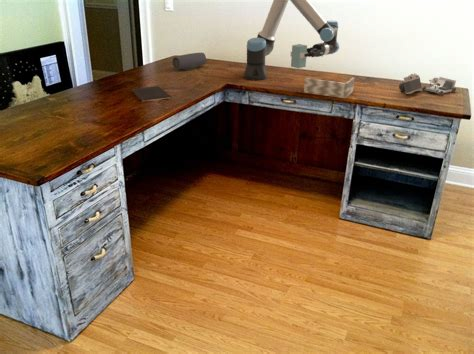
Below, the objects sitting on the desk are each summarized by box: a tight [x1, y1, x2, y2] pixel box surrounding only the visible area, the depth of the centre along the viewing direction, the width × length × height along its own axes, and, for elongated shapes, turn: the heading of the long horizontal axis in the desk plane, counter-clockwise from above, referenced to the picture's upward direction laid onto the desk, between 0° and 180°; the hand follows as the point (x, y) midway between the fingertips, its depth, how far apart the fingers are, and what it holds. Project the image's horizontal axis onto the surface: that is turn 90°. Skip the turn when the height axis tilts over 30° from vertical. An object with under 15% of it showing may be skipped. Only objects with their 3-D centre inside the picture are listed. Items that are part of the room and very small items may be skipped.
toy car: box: [421, 76, 457, 97], centre depth 250 cm, size 18×10×12 cm
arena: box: [303, 76, 356, 99], centre depth 248 cm, size 24×16×8 cm, turn 62°
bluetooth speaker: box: [172, 52, 207, 71], centre depth 296 cm, size 23×9×10 cm, turn 133°
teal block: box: [290, 43, 308, 69], centre depth 250 cm, size 6×6×12 cm
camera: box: [398, 72, 423, 95], centre depth 249 cm, size 9×16×10 cm, turn 135°
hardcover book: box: [131, 85, 172, 101], centre depth 240 cm, size 16×23×2 cm
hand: (295, 55), depth 248 cm, fingers closed on teal block, 6 cm apart
